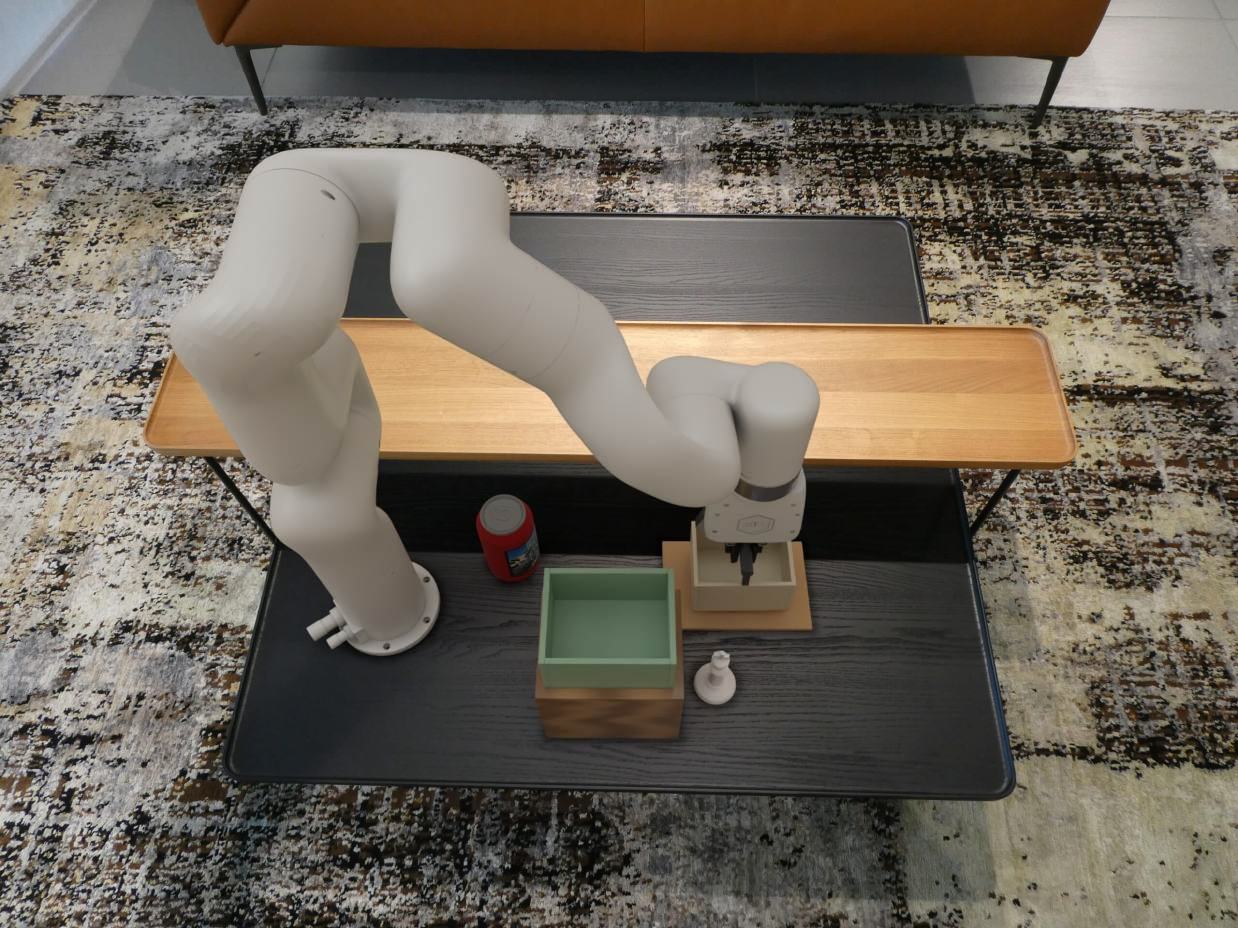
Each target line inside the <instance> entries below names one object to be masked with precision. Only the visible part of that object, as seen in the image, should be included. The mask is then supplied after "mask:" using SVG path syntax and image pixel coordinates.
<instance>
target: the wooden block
mask: <svg viewBox="0 0 1238 928" xmlns="http://www.w3.org/2000/svg"><path fill="white" fill-rule="evenodd" d="M540 596H541V597H540V611H539V612H540V613H539V626H538V640H537V641H538V642H537V656H536V669H535V670H536V671H535V687H534V701H535V704H536V707H537V709H538V710H537V711H538V714H539V718H540V721H541V723H542V727H543V730H544V734H545V736H546V738H547V739H666V740H667V739H679V737H680V736H679V735H680V729H681V724H682V723H681V722H682V716H683V711H684V710H683V709H684V704H685V678H684V675H685V674H684V646H683V630H682V613H681V590H680V589H675V623H676V657H677V666H676V674H675V682H674V689H595V688H545V687H544V683H543V679H542V675H541V672H540V668H539V664H538V660H539V645H540V630H541V614H542V599H543V588H541V595H540Z"/></svg>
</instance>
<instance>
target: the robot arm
mask: <svg viewBox="0 0 1238 928" xmlns="http://www.w3.org/2000/svg"><path fill="white" fill-rule="evenodd" d="M510 200H511V199H510V195H509V192H508V189H507V187H506V185H505V183H504V181H503V180H502V179H501V176H500V175H499V174H497V173H496V172H495V171H494V170H493V169H492V168H491V167H489V166H487V164H485V163H483V162H481V161H480V160H478V159H474V158H472V157H469V156H466V155H462V154H458V153H454V152H448V151H443V150H434V149H433V150H432V149H423V148H400V147H399V148H398V147H397V148H395V147H393V148H392V147H391V148H390V147H381V148H380V147H308V148H307V147H306V148H305V147H304V148H295V149H288V150H284V151H280V152H277V153H275V154H273V155H270V156H268V157H266V158H264V159H262V161H260V162H259V163H257V165H255V167H254V168H253V169H252V171H251V172H250V174H249V175H248V177H247V179H246V180H245V182H244V184H243V187H242V191H241V193H240V197H239V201H238V204H237V206H236V207H237V208H236V211H235V215H234V218H233V223H232V225H231V229H230V232H229V234H228V236H227V240H226V242H225V246H224V250H223V252H222V256H221V260H220V262H219V266H218V269H217V271H216V272H215V274H214V276H213V278H212V279H211V280H210V282H209V284H208V285H207V286H206V287H205V288H204V289H203V290H202V291H201V293H199V294H198V295H197V296H196V297H194V298H193V299H192V300H190V301H189V302H188V303H186V304H185V305H184V306H182V307H181V308H179V310H178V311H177V312H176V313H175V315H174V316H173V319H172V321H171V324H170V325H169V340H170V345H171V347H172V350H173V353H174V354H175V356H176V358H177V360H178V361H179V363H180V364H181V365H182V366H183V368H184V369H185V370H186V371H187V373H189V375H190V376H191V377H192V378H193V379H194V380H195V382H196V383H197V384H198V385H199V387H200V388H201V389H202V391H203V392H204V394H205V395H206V398H207V399H208V401H209V403H210V406H212V408H213V410H214V412H215V414H216V415H217V417H218V418H219V419H220V421H221V422H222V424H223V425H224V427H225V429H226V430H227V432H228V433H229V435H230V437H231V439H232V440H233V442H234V444H235V446H236V447H237V448H238V450H239V451H240V453H241V454H242V455H243V457H244V458H245V460H246V461H247V462H248V463H249V465H250V466H251V468H253V469H254V470H255V471H256V472H257V473H258V474H260V475H261V476H262V477H264V478H265V479H267V480H269V481H270V482H272V487H271V493H270V500H269V521H270V526H271V529H272V531H273V534H274V535H275V536H276V538H277V539H279V542H281V543H282V544H283V545H285V546H286V547H287V548H289V549H290V550H292V551H294V552H296V553H297V554H298V555H299V556H301V557H302V558H303V560H304V561H305V562H306V563H307V564H308V566H309V567H310V568H311V570H312V571H313V572H314V573H315V575H316V576H317V578H318V579H319V580H320V582H321V583H322V584H323V586H324V587H325V589H326V590H327V591H328V593H329V594H330V596H331V597H332V602H333V603H334V605H335V606H334V607H333V608H332V609H329V614H328V615H326V616H324V617H323V618H321V619H318V620H317V621H315V622H314V623H312V624H310V625H308V626H307V627H306V630H307V632H308V634H309V635H310V637H311V638H312V640H313V641H314V642H316V641H318V640H320V639H321V638H323V637H324V636H326V635H328V634H329V632H331V631H333V630H334V629H336V628H337V627H338V629H339V631H338V632H337V633H335V634H333V635H331V636H330V637H328V638H327V639H326V642H327V644H328V646H329V647H330V649H331V651H332V650H335V649H336V648H337V647H339V646H341V645H342V644H343V643H344V642H345V641H347V643H349V644H350V646H352V647H353V648H354V649H356V650H357V651H359V652H361V653H364V654H367V655H370V656H377V657H378V656H379V657H385V656H393V655H397V654H400V653H403V652H405V651H407V650H410V649H412V648H413V647H414V646H417V644H419V643H420V642H421V641H422V640H423V639H424V638H426V637H427V635H428V634H429V633H430V631H432V629H433V628H434V626H435V624H436V621H437V620H438V617H439V613H440V609H441V596H440V590H439V588H438V585H437V583H436V581H435V579H434V577H433V576H432V575H431V573H430V572H429V570H427V569H426V568H425V567H423V566H422V565H420V564H418V563H416V562H414V561H412V560H411V558H410V556H409V553H408V552H407V550H406V548H405V546H404V543H403V542H402V540H401V537H400V535H399V533H398V531H397V529H396V528H395V526H394V523H393V521H392V520H391V518H390V517H389V515H388V514H387V513H386V512H385V511H384V510H383V509H382V508H380V507H379V506H377V485H378V484H377V483H378V475H379V474H378V473H379V460H380V452H381V441H382V433H383V421H382V420H383V419H382V414H381V410H380V407H379V404H378V400H377V397H376V394H375V392H374V390H373V387H372V384H371V381H370V379H369V376H368V373H367V370H366V368H365V365H364V362H363V360H362V357H361V354H360V352H359V349H358V347H357V345H356V344H355V342H354V340H353V339H352V338H351V336H350V335H349V334H348V333H346V332H345V331H344V330H343V328H342V327H340V326H339V324H340V322H341V320H342V317H343V315H344V313H345V310H346V306H347V302H348V297H349V292H350V286H351V280H352V275H353V270H354V264H355V259H356V252H357V246H358V244H369V243H370V244H371V243H374V244H375V243H391V251H390V258H389V259H390V261H389V264H390V265H389V280H390V282H389V283H390V287H391V292H392V295H393V298H394V301H395V303H396V305H397V306H398V308H399V310H400V311H401V312H402V313H403V314H404V315H405V316H406V317H407V319H409V320H410V321H411V322H413V324H415V325H416V326H418V327H420V328H421V329H423V330H424V331H427V332H429V333H431V334H433V335H434V336H437V337H438V338H441V339H442V340H444V341H446V342H448V343H450V344H452V345H454V346H455V347H457V348H460V349H461V350H463V351H465V352H467V353H469V354H471V355H472V356H475V357H477V359H480V360H482V361H484V362H486V363H488V364H489V365H491V366H494V367H495V368H498V369H499V370H502V371H503V372H505V373H507V374H508V375H511V376H513V377H515V378H517V379H518V380H520V381H522V382H524V383H526V384H527V385H530V386H531V387H534V388H536V389H538V390H539V391H541V392H542V393H544V394H545V395H547V397H548V398H549V400H550V401H551V402H552V403H553V405H554V406H555V408H556V410H557V411H558V412H559V414H560V416H561V417H562V419H563V420H564V421H565V423H566V424H567V425H568V426H569V428H570V429H571V430H572V431H573V433H574V434H575V435H576V436H577V438H578V439H579V440H580V441H581V442H582V443H583V445H584V446H585V447H586V448H587V450H588V451H589V452H590V453H591V454H592V456H593V457H594V458H595V459H596V460H597V462H599V463H600V464H601V465H602V466H603V468H605V470H607V471H608V472H609V473H610V474H612V475H613V476H614V477H615V478H617V479H618V480H620V481H621V482H623V483H624V484H626V485H628V486H630V487H632V488H634V489H636V490H638V491H640V492H643V493H644V494H647V495H649V496H651V497H653V498H656V499H658V500H661V501H663V502H666V503H668V504H672V505H677V506H680V507H686V508H702V510H701V511H700V512H699V513H698V514H697V515H696V517H694V521H695V528H696V529H697V530H700V531H705V534H706V537H707V538H708V539H710V540H713V541H716V542H725V553H730V557H731V563H736V562H737V561H738V557H739V551H740V543H751V549H752V559H753V563H755V560H756V557H757V553H762V549H763V546H766V545H768V543H773V542H787V541H791V542H792V541H793V540H795V539H796V538H797V537H798V536H799V535H800V531H802V529H803V523H802V522H803V517H804V511H805V507H806V506H805V505H806V496H807V482H806V476H805V472H804V468H803V465H804V460H805V456H806V454H807V452H808V451H807V450H808V447H809V443H810V441H811V438H812V434H813V431H814V428H815V424H816V421H817V417H818V414H819V412H820V411H819V410H820V405H821V394H820V391H819V388H818V385H817V383H816V381H815V380H814V379H813V377H812V376H811V375H810V374H809V373H808V372H807V371H805V370H804V369H803V368H801V367H799V366H798V365H794V364H793V363H789V362H785V361H767V362H763V363H759V364H756V365H752V364H746V363H737V362H734V361H733V362H731V361H728V360H727V361H726V360H722V359H716V358H711V357H706V356H705V357H704V356H697V355H674V356H669V357H666V358H664V359H661V360H659V361H658V362H657V363H655V364H654V365H653V366H652V368H651V369H650V370H649V371H648V373H647V377H646V381H645V384H644V382H643V380H642V378H641V376H640V374H639V371H638V369H637V366H636V364H635V361H634V359H633V357H632V354H631V352H630V350H629V347H628V344H627V343H626V340H625V338H624V336H623V334H622V332H621V330H620V328H619V326H618V324H617V322H616V321H615V319H614V317H613V316H612V314H611V312H610V311H609V310H608V308H607V307H606V305H604V304H603V302H601V301H600V299H598V298H597V297H596V296H593V295H592V294H591V293H589V292H587V291H586V290H583V289H582V288H581V287H579V286H578V285H576V284H575V283H573V282H571V281H569V280H567V279H566V278H564V277H563V276H562V275H560V274H559V273H557V272H555V271H554V270H552V269H551V268H549V267H548V266H546V265H545V264H543V263H541V262H540V261H539V260H537V259H536V258H534V257H533V256H531V255H530V254H528V253H527V252H525V250H522V249H520V248H519V247H517V246H516V245H515V244H514V243H513V242H512V240H511V238H510V237H511V236H510V234H511V233H510V232H511V231H510V230H511V207H510V206H511V205H510V204H511V203H510V202H511V201H510Z"/></svg>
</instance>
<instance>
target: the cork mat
mask: <svg viewBox="0 0 1238 928" xmlns="http://www.w3.org/2000/svg"><path fill="white" fill-rule="evenodd" d="M791 545H792V553H793V562H794V570H795V579H796V588H795V591H794V594H793V597H792V601H791V604H790V607H789V610H771V611H693V610H692V585H691V561H690V541H677V540H676V541H671V540H670V541H668V540H666V541H664V540H663V541H662V543H661V548H662V549H661V550H662V568H674V589H680V590H681V613H682V631H794V632H795V631H801V632H803V631H807V632H808V631H809V632H811V631H812V630H813V621H812V614H811V605H810V599H809V591H808V590H809V589H808V581H807V574H806V566H805V559H804V550H803V543H802V541H791Z"/></svg>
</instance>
